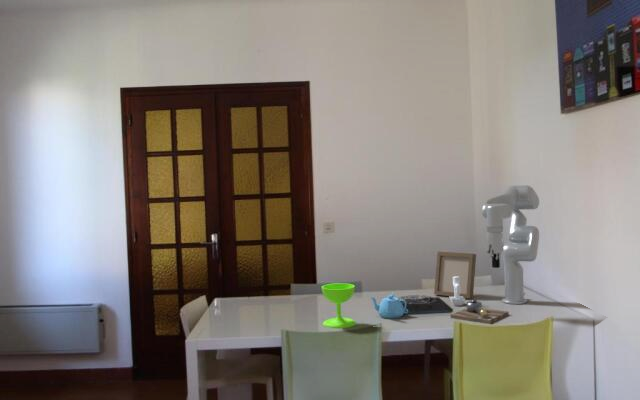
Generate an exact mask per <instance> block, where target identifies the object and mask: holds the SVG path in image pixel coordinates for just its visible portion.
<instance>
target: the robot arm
mask: <svg viewBox="0 0 640 400" xmlns="http://www.w3.org/2000/svg"><path fill="white" fill-rule="evenodd" d="M539 206H540V198H539V196H538V194H537V192H536V191H535V189H534V188H533V187H532V186H530V185H525V184H524V185H509V186H508V187H506V189H505V190H504V191H503V192H502V194H499V195H497V196H495V197H492V198H489V199H487V200H486V201H485V202H484V204H483V205H482V207H481V215H482V217H483V218H484V219H486V242H485V243H486V244H485V245H486V248H485V249H486V250H485V251H486V252H485V253H486V254H489V257H490V258H491V266H492V268H493V269H494V268H495V269H499V268H501V267H500V266H501V264H500V263H501V260H500V259H501V255H502V259H503V267H504V298H502V299H501V300H502V303H504V304H510V305H523V304H524V305H525V304H526V303H528V300H527V299H526V298H525V296H526V293H525V291H524V289H525V288H524V268H523V266H522V264H521V262H525V263H526V262H527V263H528V262H529V263H530V262H535V260H536V259H537V255H538V249H539V244H540V243H539V241H540V230H539V228H538V227H537V226H534V225H527V217H526V215H525V214H524V213H523V212H522V211H521V210H537V209H538V208H539ZM504 219H506V220H507V219H510V221H509V226H508V232H507V240H508V241H509V242H507V243H504V236H503V234H504Z"/></svg>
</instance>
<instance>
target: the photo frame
mask: <svg viewBox="0 0 640 400" xmlns="http://www.w3.org/2000/svg"><path fill="white" fill-rule="evenodd" d="M476 259H477V254H476V253H468V252H467V253H466V252H465V253H464V252H450V251H449V252H448V251H437V255H436V265H435V266H436V267H435V268H436V269H435V277H434V278H435V279H434V281H435V282H434V291H433V292H434V293H433V295H435V296H436V295H438V296H446V297H453V296H454V286H453V277H454V276H456V277H458V276H459V280H460V282H459V283H460V284H459V285H460V287H461V294H460V296H463V297H464V298H465V299H471V300H474V287H475V276H476Z"/></svg>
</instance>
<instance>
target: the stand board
mask: <svg viewBox="0 0 640 400" xmlns="http://www.w3.org/2000/svg"><path fill="white" fill-rule="evenodd" d="M482 309H484V310H486V311H487V315H486V316H481V315H480V314H479V313H478V312H468V311H467V307H466V308H464V309H462V310H458V311H457V312H454V313H451V314H450V318H451V319H455V320H462V321H467V322H468V321H469V322H476V323H483V324H489V325H490V324H492V323H494V322H496V321H499V320H501V319H503V318H504V317H507V316H509V315H510V314H509V311H507V310H501V309H500V310H499V309H492V308H485V307H482Z"/></svg>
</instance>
